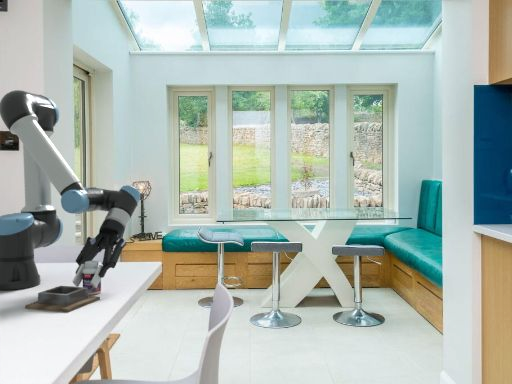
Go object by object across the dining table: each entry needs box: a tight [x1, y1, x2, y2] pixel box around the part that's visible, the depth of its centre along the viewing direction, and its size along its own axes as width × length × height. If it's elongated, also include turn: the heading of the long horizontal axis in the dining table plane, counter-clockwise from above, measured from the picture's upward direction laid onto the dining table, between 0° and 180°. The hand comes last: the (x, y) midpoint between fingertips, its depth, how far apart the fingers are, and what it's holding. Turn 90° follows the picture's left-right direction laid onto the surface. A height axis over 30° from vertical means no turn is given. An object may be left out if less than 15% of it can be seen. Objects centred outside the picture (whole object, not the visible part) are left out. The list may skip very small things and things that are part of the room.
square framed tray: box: [25, 285, 101, 313], centre depth 141 cm, size 14×14×4 cm
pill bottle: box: [82, 260, 102, 296], centre depth 153 cm, size 5×5×10 cm
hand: (84, 284), depth 150 cm, fingers open, 6 cm apart
